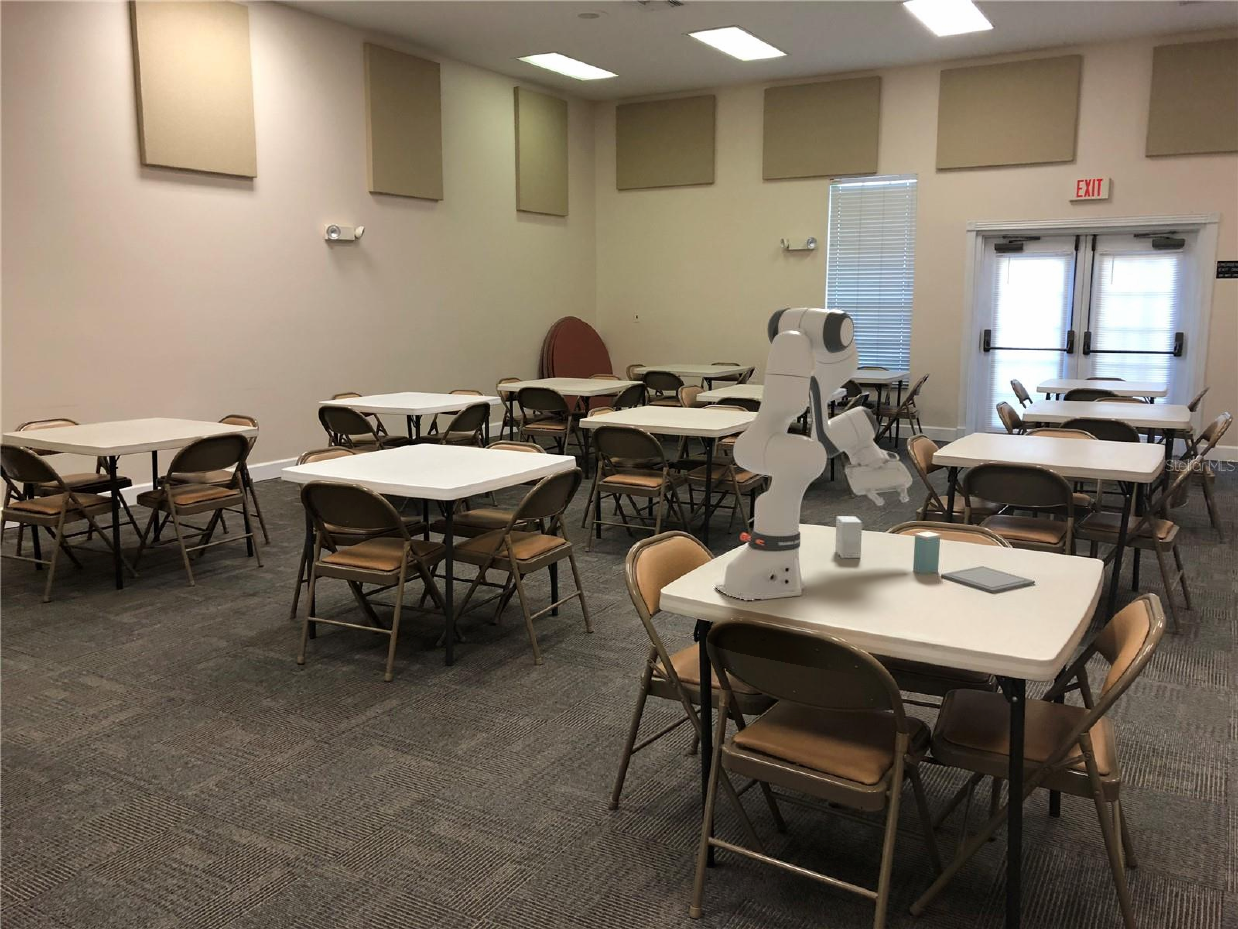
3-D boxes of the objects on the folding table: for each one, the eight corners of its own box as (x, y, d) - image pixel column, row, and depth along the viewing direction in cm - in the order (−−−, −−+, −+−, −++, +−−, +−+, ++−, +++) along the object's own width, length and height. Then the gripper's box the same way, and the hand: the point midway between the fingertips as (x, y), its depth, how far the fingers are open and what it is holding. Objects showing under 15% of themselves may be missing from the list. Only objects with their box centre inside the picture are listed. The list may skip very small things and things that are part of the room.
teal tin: (924, 574, 237) (926, 537, 235) (912, 570, 241) (914, 533, 239) (938, 571, 239) (940, 534, 238) (926, 568, 243) (928, 531, 241)
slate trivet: (992, 593, 221) (993, 589, 220) (940, 577, 234) (941, 573, 234) (1034, 584, 228) (1035, 580, 228) (982, 569, 242) (982, 565, 242)
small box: (860, 558, 253) (862, 522, 251) (841, 558, 253) (842, 522, 251) (854, 551, 261) (855, 515, 259) (834, 551, 261) (836, 515, 259)
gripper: (848, 458, 247) (872, 499, 241) (901, 453, 257) (926, 492, 250) (836, 472, 252) (859, 513, 245) (889, 466, 262) (913, 505, 255)
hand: (893, 502), depth 248 cm, fingers open, 8 cm apart
